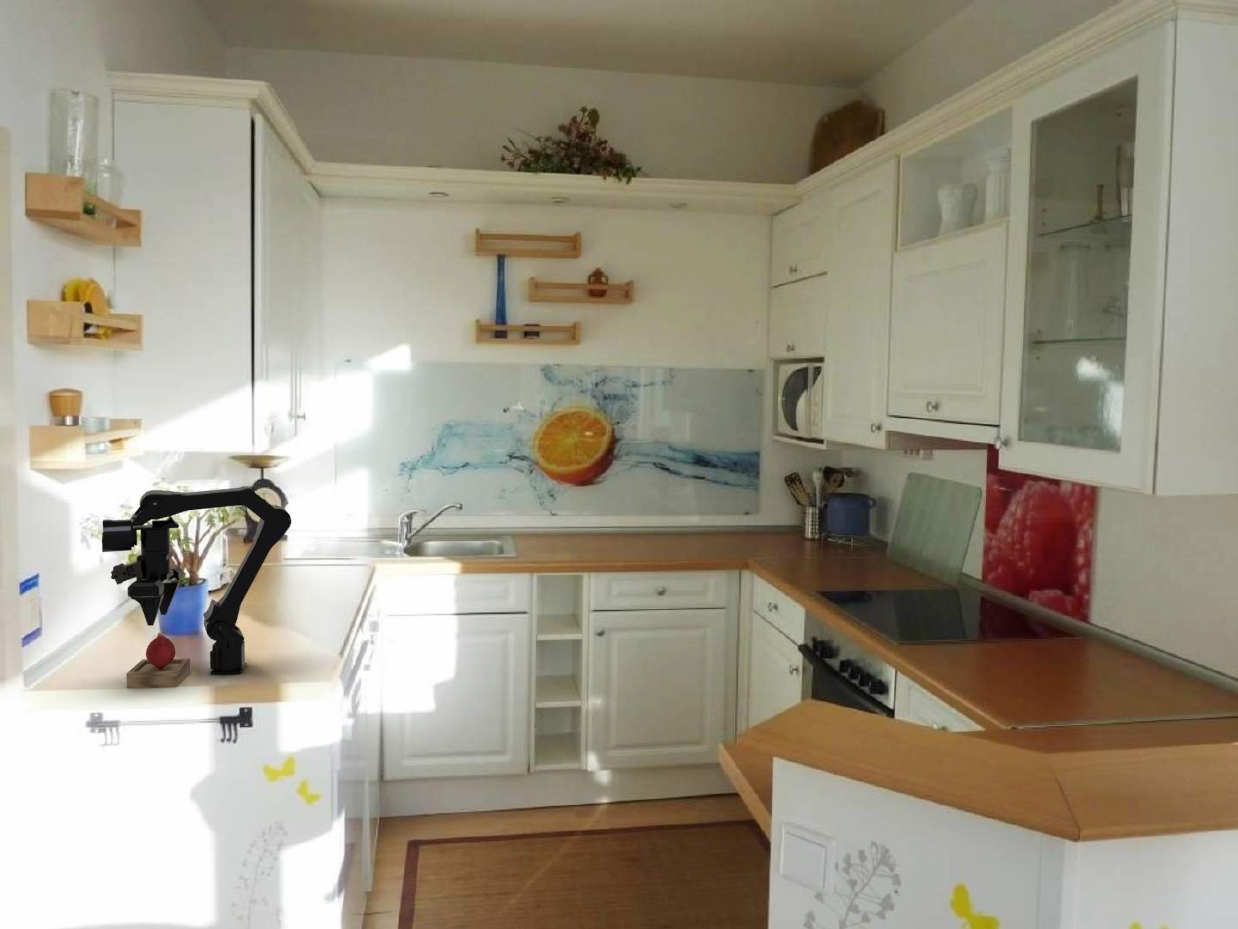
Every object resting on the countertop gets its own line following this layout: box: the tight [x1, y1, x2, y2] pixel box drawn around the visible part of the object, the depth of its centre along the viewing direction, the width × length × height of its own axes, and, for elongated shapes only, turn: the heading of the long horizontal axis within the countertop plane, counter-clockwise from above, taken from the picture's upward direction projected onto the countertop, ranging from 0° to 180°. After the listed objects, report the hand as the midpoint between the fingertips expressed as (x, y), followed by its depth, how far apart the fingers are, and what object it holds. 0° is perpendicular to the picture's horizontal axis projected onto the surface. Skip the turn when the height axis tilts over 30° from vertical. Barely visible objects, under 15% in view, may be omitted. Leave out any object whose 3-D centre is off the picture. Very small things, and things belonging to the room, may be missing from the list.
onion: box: [145, 632, 176, 669], centre depth 213 cm, size 6×6×8 cm
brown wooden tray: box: [126, 658, 191, 689], centre depth 213 cm, size 10×10×3 cm
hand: (157, 620), depth 213 cm, fingers open, 9 cm apart
